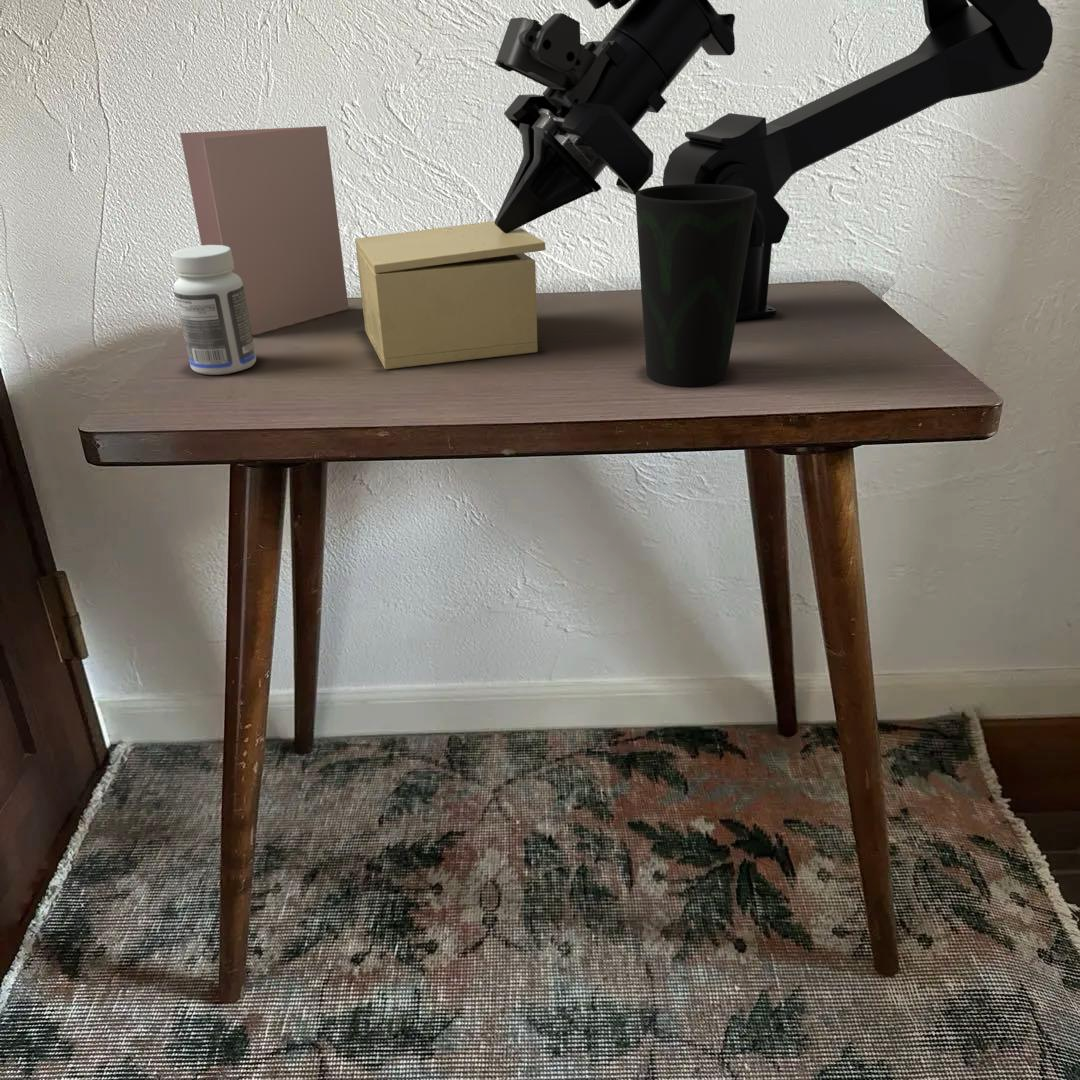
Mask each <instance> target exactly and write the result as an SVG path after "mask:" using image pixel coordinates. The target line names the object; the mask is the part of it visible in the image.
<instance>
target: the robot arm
mask: <svg viewBox="0 0 1080 1080" xmlns="http://www.w3.org/2000/svg"><path fill="white" fill-rule="evenodd" d="M631 1H632V0H587V2H588V3H589V4H590V5H591V7H592V8H593V9H594V10H599V9H601V8H603V7H604V6H606V5H608V4H609V5H610V6H611V7H612V8H613V9H614V10H615V11H616V10H620V9H621V8H623V7H624V6H626V5H627V4H628V3H630V2H631ZM922 8H923V16H924V23H925V26H926V27H927V30H928V31H929V33H928V35H927V36H926V37H925V39H924V40H923V41H922V42H921V43H920V44H919V45H918V47H917V48H916V49H915V50H914V51H913V52H911V53H910V54H907V55H906V56H903V57H902V58H899V59H897V60H895V61H893V62H890V64H886V65H885V66H883V67H881V68H879V69H876V70H874V71H872V72H870V73H867V75H863V76H862V77H860V78H858V79H856V80H854V81H852V82H849V83H847V84H845V85H843V86H842V87H839V88H837V89H835V90H833V91H831V92H829V93H827V94H825V95H823V96H820V97H818V98H816V99H814V100H812V101H810V102H809V103H806V104H804V105H802V106H800V107H797V108H796V109H794V110H791V111H790V112H787V113H786V114H785V113H784V115H781V116H779V117H777V118H775V119H773V120H770V121H769V122H767V118H766V117H764V116H757V115H748V114H741V113H733V112H729V113H727V114H725V115H723V116H721V117H719V118H718V119H716V120H714V122H712V123H711V124H709V125H708V126H706V127H704V128H701V129H699V130H696V131H686V132H684V136H685V138H686V139H688V140H687V141H684V142H683V143H681V144H679V145H678V146H676V147H675V148H674V149H673V150H672V151H671V152H670V154H669V155H668V160H667V162H666V164H665V167H664V169H663V173H662V174H663V175H662V186H664V185H678V184H718V185H731V186H739V187H745V188H749V189H752V190H754V191H755V192H756V194H757V197H756V203H755V209H754V215H753V221H752V227H751V233H750V239H749V245H748V251H747V257H746V263H745V269H744V275H743V281H742V287H741V293H740V299H739V305H738V311H737V317H736V321H737V320H748V319H756V318H764V317H765V318H766V317H774V316H777V309H776V308H774V307H772V306H770V305H769V304H768V294H769V293H768V292H769V285H770V284H769V283H770V271H771V261H772V252H773V251H772V250H773V245H774V244H779V243H781V241H782V240H783V236H784V234H785V232H786V229H787V226H788V224H789V222H790V215H789V213H788V212H787V211H786V210H785V208H783V206H782V205H781V204H780V202H778V200H777V199H776V196H777V195H778V193H779V192H780V191H781V190H782V188H783V187H784V186H785V185H786V184H787V182H788V181H789V180H790V178H791V177H793V175H795V174H796V173H798V172H799V171H801V170H804V169H806V168H808V167H810V166H812V165H814V164H816V163H818V162H820V161H823V160H824V159H826V158H828V157H830V156H832V155H834V154H836V153H839V152H841V151H842V150H844V149H846V148H847V149H848V147H851V146H853V145H855V144H857V143H860V142H861V141H863V140H865V139H867V138H869V137H871V136H873V135H875V134H877V133H879V132H882V131H883V130H885V129H887V128H889V127H892V126H894V125H896V124H898V123H900V122H902V121H904V120H907V119H908V118H910V117H913V116H915V115H916V114H918V113H921V112H922V111H924V110H927V109H929V108H931V107H933V106H935V105H937V104H939V103H941V102H943V101H946V100H949V99H954V98H960V97H966V96H967V97H968V96H973V95H979V94H984V93H989V92H995V91H999V90H1002V89H1006V88H1008V87H1013V86H1016V85H1020V84H1024V83H1026V82H1028V81H1030V80H1031V79H1033V78H1034V77H1036V76H1037V75H1038V74H1039V73H1040V72H1041V71H1042V70H1043V68H1044V66H1045V61H1046V59H1047V57H1048V55H1049V53H1050V49H1051V46H1052V44H1053V33H1054V26H1053V21H1052V17H1051V15H1050V13H1049V12H1048V10H1047V8H1046V7H1045V6H1043V5H1041V3H1040V1H1039V0H922ZM735 21H736V15H735V14H734V13H720V14H719V13H718V12H717V10H716V9H715V7H714V6H713V5H712V4H711V2H710V1H709V0H634V1H633V2H632V3H631V5H629V7H628V8H627V9H626V10H625V12H624V13H623V14H622V16H621V17H620V18H619V19H618V20H617V21H616V22H615V24H614V25H613V26H612V28H611V29H610V30H609V31H608V33H607V34H606V35H605V36H604V37H603V39H602V40H593V41H592V40H591V41H587V42H585V44H583V43H581V23H580V22H579V21H578V20H577V19H574V18H572V17H570V16H569V15H567V14H565V13H562V12H560V13H559V12H558V13H553V14H552V15H551V16H550V17H549V18H548V19H546V21H544V23H542V24H541V23H540V21H538V20H537V19H534V18H533V19H530V18H527V17H521V16H520V17H513V18H510V19H509V22H508V25H507V28H506V31H505V33H504V36H503V39H502V42H501V45H500V48H499V50H498V53H497V56H496V59H495V62H494V64H495V66H497V67H499V68H500V69H502V70H505V71H507V72H515V73H517V74H519V75H521V76H523V77H525V78H528V79H529V80H531V81H534V82H535V83H536V84H537V83H538V84H540V85H541V86H544V87H546V88H545V90H544V91H543V92H542V95H541V94H534V93H531V94H518V95H517V96H516V97H515V99H514V100H513V101H512V102H511V104H510V105H509V106H508V107H507V109H506V110H505V111H504V113H503V114H504V116H505V118H507V120H508V121H509V122H510V123H511V124H512V125H513V126H514V127H515V128H516V129H517V130H518V131H519V133H520V135H521V141H522V151H523V156H522V160H521V162H520V164H519V167H518V169H517V170H516V171H517V172H516V173H515V175H514V178H513V180H512V182H511V185H510V187H509V189H508V191H507V193H506V196H505V198H504V199H503V202H502V204H501V207H500V209H499V211H498V213H497V215H496V217H495V219H494V221H495V225H496V226H497V227H498V228H499V229H500V230H501V231H503V232H504V233H509V232H511V231H513V230H515V229H517V228H519V227H520V228H522V227H523V226H524V225H525V226H526V225H527V224H529V223H531V222H532V221H535V220H537V219H539V218H540V217H542V216H545V215H546V214H549V213H551V212H553V211H556V210H557V209H559V208H561V207H563V206H565V205H568V204H570V203H572V202H574V201H577V200H579V199H581V198H583V197H585V196H588V195H590V194H592V193H598V192H600V190H601V189H602V187H601V185H600V183H599V182H598V181H597V180H596V179H597V178H598V177H599V176H600V174H601V173H602V172H603V170H604V169H605V168H606V167H607V168H608V169H609V170H610V171H611V172H612V173H613V174H615V175H616V177H617V180H616V183H615V185H616V186H617V188H618V189H619V190H620V191H622V192H624V193H628V194H631V195H633V196H635V194H636V193H637V192H638V191H639V190H641V189H642V188H643V186H644V185H646V183H647V182H648V180H649V179H650V178H651V177H652V176H653V174H654V154H655V153H654V152H653V151H652V149H650V148H649V146H647V144H646V143H645V142H644V141H643V139H642V138H640V136H639V135H638V134H637V133H636V131H634V128H635V127H636V126H637V125H638V123H639V122H640V121H641V120H642V119H643V117H645V115H646V114H647V113H654V114H659V112H660V111H661V110H662V109H663V107H664V106H665V105H666V104H667V101H666V99H665V98H664V97H663V96H662V95H663V94H664V93H665V91H666V90H667V89H668V87H669V86H670V85H671V84H672V82H673V81H674V80H675V79H676V78H677V76H679V74H680V73H681V72H682V71H683V70H684V68H686V66H687V65H688V63H690V61H691V60H692V59H693V57H695V55H697V53H698V51H699V50H700V49H701V48H702V49H703V51H704V52H705V53H706V54H707V55H708V56H726V57H727V56H732V55H734V53H735V51H736V40H735V39H736V38H735V32H734V27H735V25H734V24H735Z"/></svg>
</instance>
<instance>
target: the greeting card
mask: <svg viewBox="0 0 1080 1080" xmlns="http://www.w3.org/2000/svg"><path fill="white" fill-rule="evenodd" d="M179 135H180V141H181V145H182V151H183V157H184V161H185V166H186V167H185V168H186V172H187V177H188V182H189V187H190V193H191V198H192V203H193V208H194V213H195V218H196V219H195V220H196V223H197V224H196V225H197V229H198V234H199V239H200V246H202V245H222V246H227V247H229V248H230V249H231V252H232V257H233V262H234V269H233V270H232V272H233V273H235V274H237V275H238V276H239V277H240V278H241V280H242V283H243V287H244V293H245V299H246V304H247V310H248V315H249V320H250V325H251V331H252V336H253V335H257V334H261V333H264V332H267V331H271V330H276V329H280V328H282V327H286V326H290V325H294V324H297V323H301V322H304V321H308V320H312V319H316V318H320V317H323V316H326V315H330V314H335V313H338V312H342V311H345V310H348V309H349V308H350V307H349V301H348V300H349V299H348V292H347V284H346V275H345V269H344V259H343V251H342V245H341V243H342V242H341V235H340V228H339V217H338V213H337V212H338V211H337V202H336V195H335V187H334V178H333V170H332V163H331V161H332V160H331V155H330V154H331V153H330V146H329V145H330V144H329V139H328V129H327V125H321V126H299V127H278V128H276V127H275V128H257V129H256V128H255V129H235V130H215V131H214V130H213V131H196V132H195V131H194V132H193V131H192V132H179Z"/></svg>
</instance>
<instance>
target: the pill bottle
mask: <svg viewBox="0 0 1080 1080" xmlns="http://www.w3.org/2000/svg"><path fill="white" fill-rule="evenodd" d="M171 256H172V262H173V269H174V271H175V274H176V276H178V277H179V278H177V280H176V281H175V282H174V284H173V293H174V298H175V301H176V307H177V311H178V316H179V320H180V324H181V325H180V326H181V330H182V334H183V337H184V338H183V339H184V342H185V343H184V344H185V349H186V353H187V357H188V362H189V365H190V368H191V370H192V371H194V372H195V373H198V374H201V375H207V376H220V375H228V374H229V375H230V374H233V373H237V372H242V371H244V370H247V369H249V368H252V367H254V365H255V363H256V362H257V354H256V350H255V343H254V337H253V335H252V331H251V325H250V320H249V315H248V310H247V304H246V299H245V293H244V287H243V283H242V280H241V278H240V277H239V276H238V275H237V274H235V273H233V272H232V270H233V269H234V262H233V257H232V252H231V249H230V248H229V247H227V246H222V245H193V246H188V247H183V248H179V249H177V250H175V251H172V254H171Z"/></svg>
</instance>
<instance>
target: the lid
mask: <svg viewBox="0 0 1080 1080" xmlns="http://www.w3.org/2000/svg"><path fill="white" fill-rule="evenodd" d="M354 243H355V248H356V247H357V248H358V250H359V251H360V252H361V254H362V255H363V257H364V258H365V260H366V261H367V263H368V264H369V265H370V267H371V268H372V270H373V271H374V273H383V272H390V271H398V270H405V269H412V268H420V267H427V266H434V265H441V264H449V263H456V262H463V261H471V260H478V259H485V258H493V257H500V256H507V255H515V254H522V253H524V254H529V253H535V252H544V251H546V241H544V240H542V239H541V238H538V237H537V236H535V235H534V234H532V233H530V232H529V231H527V230H525V229H523V228H522V227H519V228H517V229H515V230H513V231H511V232H509V233H504V232H503V231H501V230H500V229H499V228H498V227H497V226H496V225H495V220H490V221H483V222H475V223H474V222H473V223H467V224H458V225H450V226H444V227H435V228H428V229H427V228H426V229H419V230H412V231H405V232H396V233H388V234H379V235H373V236H365V237H357V238H354Z"/></svg>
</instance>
